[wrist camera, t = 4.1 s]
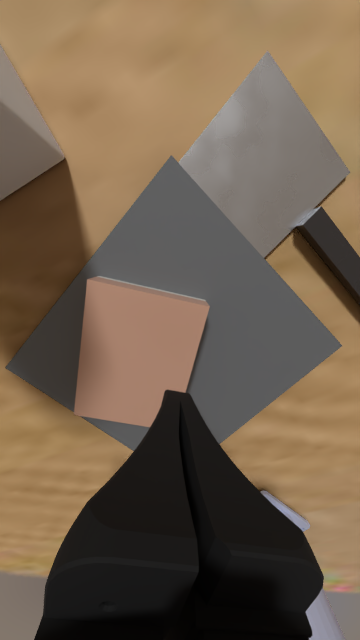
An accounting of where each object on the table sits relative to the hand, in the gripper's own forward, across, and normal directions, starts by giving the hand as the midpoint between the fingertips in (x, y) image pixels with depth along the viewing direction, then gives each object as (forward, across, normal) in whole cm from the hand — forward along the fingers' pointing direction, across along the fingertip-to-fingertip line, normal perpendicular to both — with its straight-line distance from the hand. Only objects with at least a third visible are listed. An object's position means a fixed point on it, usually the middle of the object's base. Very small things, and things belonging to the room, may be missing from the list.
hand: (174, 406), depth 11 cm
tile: (+4, -1, 0) cm, 5 cm away
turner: (+6, -7, -11) cm, 14 cm away
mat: (+6, 0, 0) cm, 6 cm away
